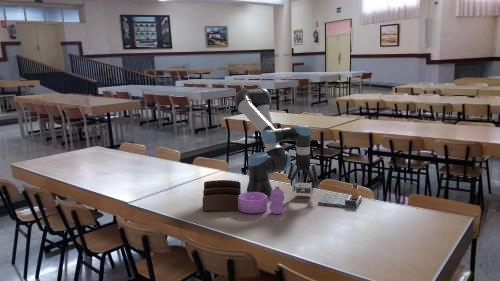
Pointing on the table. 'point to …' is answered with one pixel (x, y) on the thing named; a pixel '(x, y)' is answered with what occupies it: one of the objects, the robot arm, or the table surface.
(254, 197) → the container set
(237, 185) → the letter holder
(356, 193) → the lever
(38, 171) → the table surface
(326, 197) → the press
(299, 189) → the electrical switch
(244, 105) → the robot arm
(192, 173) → the table surface
